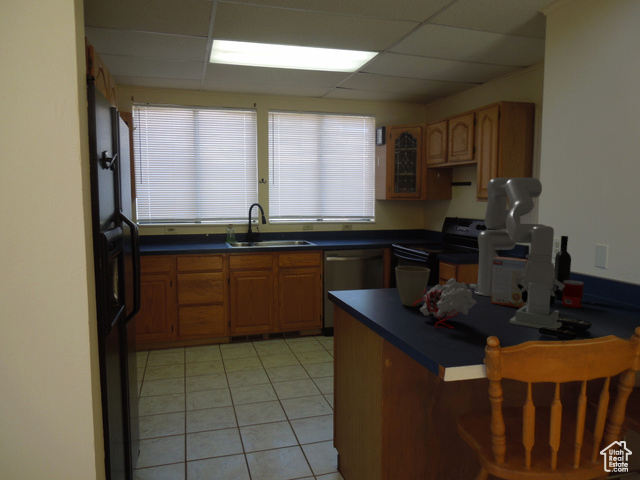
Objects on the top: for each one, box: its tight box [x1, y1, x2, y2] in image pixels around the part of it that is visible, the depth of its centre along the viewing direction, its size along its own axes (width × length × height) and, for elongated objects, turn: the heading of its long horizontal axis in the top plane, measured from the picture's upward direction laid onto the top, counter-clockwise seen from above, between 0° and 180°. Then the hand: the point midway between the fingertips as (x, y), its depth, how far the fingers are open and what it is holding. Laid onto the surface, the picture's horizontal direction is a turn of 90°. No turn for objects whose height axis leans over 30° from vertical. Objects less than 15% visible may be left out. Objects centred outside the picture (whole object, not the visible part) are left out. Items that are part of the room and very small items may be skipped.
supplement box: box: [526, 282, 551, 316], centre depth 174 cm, size 7×7×13 cm
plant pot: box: [394, 265, 431, 307], centre depth 200 cm, size 15×15×16 cm
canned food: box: [561, 279, 585, 309], centre depth 203 cm, size 8×8×11 cm
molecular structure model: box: [412, 277, 477, 330], centre depth 169 cm, size 20×18×25 cm
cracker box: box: [490, 256, 530, 309], centre depth 203 cm, size 14×6×21 cm, turn 47°
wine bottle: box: [553, 235, 572, 301], centre depth 217 cm, size 6×6×30 cm
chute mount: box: [509, 306, 563, 329], centre depth 174 cm, size 16×14×5 cm
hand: (537, 303), depth 174 cm, fingers closed on supplement box, 8 cm apart
